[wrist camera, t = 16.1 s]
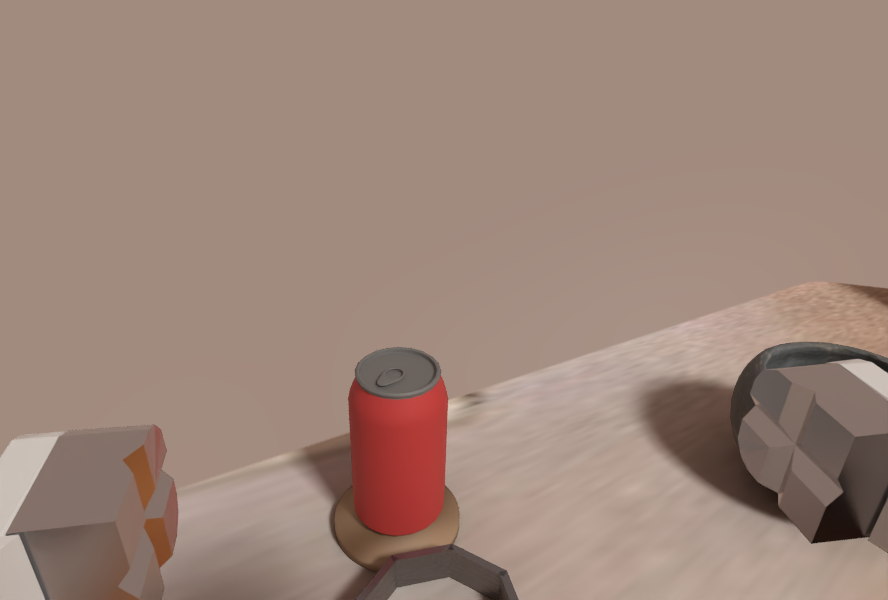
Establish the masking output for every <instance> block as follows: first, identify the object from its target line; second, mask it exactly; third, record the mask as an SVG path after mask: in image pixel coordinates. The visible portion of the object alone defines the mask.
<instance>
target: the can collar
mask: <svg viewBox="0 0 888 600" xmlns="http://www.w3.org/2000/svg"><path fill="white" fill-rule="evenodd" d="M446 577H451V578H453V579H455V580H457V581H459V582H461V583H463V584H465V585H466V586H468V587H470V588H472V589H474V590H476V591H478V592H480V593H482V594H484V595H486V596H488V597H489V598H491V599H493V600H518V597H517V595H516V592H515V590H514V587H513V585H512V582H511V580H510V578H509V575H508V573H507V571H506V570H504V569H502V568H500V567H498V566H496V565H494V564H492V563H490V562H488V561H486V560H484V559H482V558H480V557H478V556H476V555H474V554H472V553H470V552H468V551H466V550H464V549H462V548H460V547H458V546H455V545H453V544H447V545H442V546H437V547H432V548H426V549H421V550H416V551H411V552H405V553H400V554H395V555H391V556H390V558H389V559H388V560H387V561H386V563H385V564H384V565H383V566H382V567H381V569H380V570H379V571H378V572H377V574H376V575H375V576H374V577H373V578H372V580H371V581H370V582H369V583H368V585H367V586H366V587H365V588H364V589H363V591H362V592H361V593H360V594H359V596H358V597H357V598H356V599H355V600H387V599H388V598H389V597H390V596H391V594H392V593H393V592H394V590H395V589H396V588H397V587H401V586H406V585H411V584H416V583H421V582H426V581H431V580H436V579H441V578H446Z"/></svg>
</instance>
